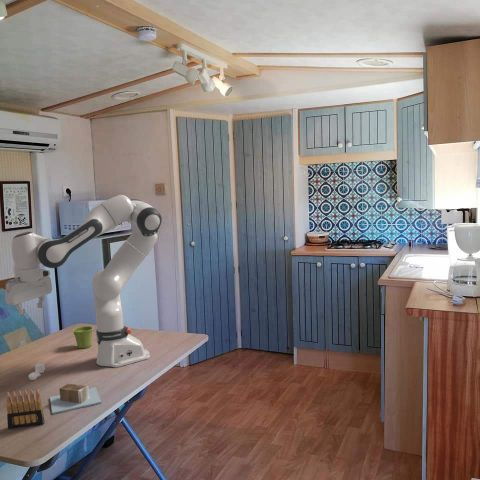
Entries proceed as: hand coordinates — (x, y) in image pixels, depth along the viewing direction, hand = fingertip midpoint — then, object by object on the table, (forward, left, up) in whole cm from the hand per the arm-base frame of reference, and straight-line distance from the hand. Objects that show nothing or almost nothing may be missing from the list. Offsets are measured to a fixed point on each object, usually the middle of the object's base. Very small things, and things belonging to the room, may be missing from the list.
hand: (31, 310), depth 188 cm
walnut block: (-8, +21, -26) cm, 34 cm away
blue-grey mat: (-11, +24, -29) cm, 39 cm away
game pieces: (+1, -10, -30) cm, 31 cm away
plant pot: (-21, -37, -29) cm, 52 cm away
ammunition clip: (+5, +35, -29) cm, 46 cm away
